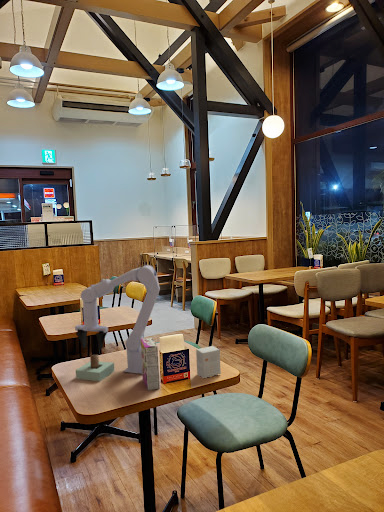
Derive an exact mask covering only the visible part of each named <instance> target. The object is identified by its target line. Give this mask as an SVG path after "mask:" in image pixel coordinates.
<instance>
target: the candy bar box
mask: <svg viewBox="0 0 384 512" xmlns="http://www.w3.org/2000/svg"><path fill="white" fill-rule="evenodd" d="M140 342H141V359H142V376H141V377H142V381H143V383H144V385H145V388H146V390H147V391H153V390H154V391H155V390H159V389H160V373H159V372H160V371H159V369H160V368H159V355H158V354H159V353H158V345H157V344H156V341H155V340H154V339H153V337H146V338H145V337H144V339H140Z"/></svg>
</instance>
